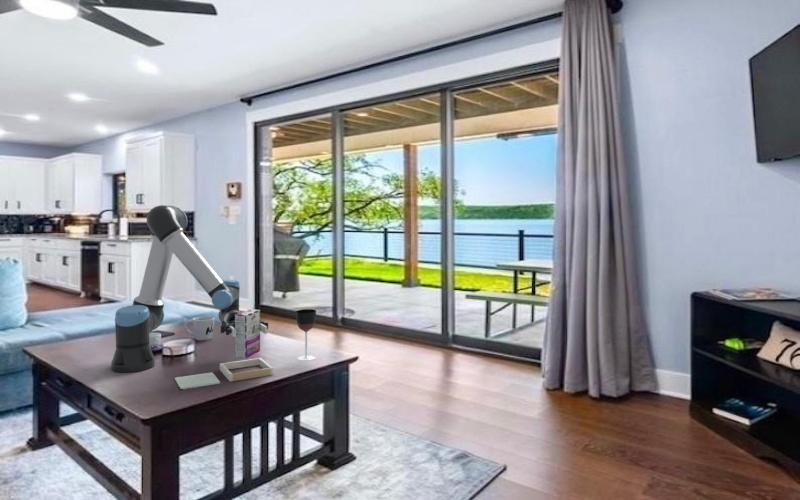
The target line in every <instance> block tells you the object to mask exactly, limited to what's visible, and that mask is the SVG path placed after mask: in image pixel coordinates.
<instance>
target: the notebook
mask: <svg viewBox="0 0 800 500" xmlns="http://www.w3.org/2000/svg"><path fill="white" fill-rule="evenodd" d="M149 333H160V334H161V339H163V338H168V337H171V336H175V335H176V334H175V332H174V331H173V332H172V331H166V330H165V331H164V330H161V329H160V330H159V329H158V330H157V329H155V330H153V331H151V332H149Z"/></svg>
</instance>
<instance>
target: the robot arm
mask: <svg viewBox="0 0 800 500" xmlns="http://www.w3.org/2000/svg"><path fill="white" fill-rule="evenodd" d="M146 225H147V227H148V229H149V230H150V234H149V235H150V238H152V242H151V246H150V250H149V255H148V258H147V263H146V267H145V270H144V274H143V277H142V283H141V287H140V291H139V294H138V296H135V297H134V298H133V301H132V302H133V303H132V304H131V305H126V306H123V307H120V308H118V309H117V310H116V311H115V316H114V325H115V328H114V329H115V331H114V332H115V352H114V354H113V357H112V361H111V364H110V367H111V368H110V369H111V371H113V372H115V373H116V372H117V373H134V372H140V371H144V370H148V369H150V368H152V367H154V366H155V364H156V361H155V360H156V358H155V356H154V354H153V351H152V348H150V343H149V332H151V331H156V330H157V329H158V328H159V327H160V326H161V324H162V323H163V322H164V321H163V320H165V319H164V317H165V312H164V305H165V302H164V300H163V294H164V291H165V287H166V282H167V278H168V276H169V275H168V273H169V270H170V266H171V262H172V258H173V255H175V257H176V258H177V259H178V260H179V262H180V263H181V264H182V265H183V267H185V268H186V270H187V271H188V272H189V274H191V276H192V277H193V279H195V280H196V282H197V283H198V284H199V286H200V287H201V288H202V289H203V290H204V291H205V293H207V295H208V296H209V297H210V298H211V303H212V305H213V307H215V308H216V309H220V310H219V311H218V315H217V316H218V319H219V321H220V322H221V326H220V334H224V333H225V335H226V336H229V335H230V336H232V337H234V338H235V337H236V329H235V314H238V313H241V311H240V289H241V288H240V281H239V280H237V279H221V277H220V276H219V274H217V272H216V271H215V269H213V267H212V266H211V265H210V264H209V263H208V261H207V260H206V259H205V257H204V256H203V255H202V254H201V253H200V252H199V251H198V249H197V248H196V247H195V245H193V243H192V241H190V239H189V238H188V237H187V236H186V235H185V234H184V231H185V230H186V228H187V226H188V217H187V214H186V213H185V211H183V209H181V208H179V207H176V206H174V205H163V204H161V205H157V206H154V207H152V208H151V209H150V210H149V211H148V212H147V215H146ZM268 330H269V322H266V321H262V320H260V333H262V334H264V335H267V333H268V332H267V331H268Z"/></svg>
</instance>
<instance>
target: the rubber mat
mask: <svg viewBox="0 0 800 500" xmlns="http://www.w3.org/2000/svg"><path fill="white" fill-rule="evenodd" d="M174 380H175V382H176V384H177V386H178V387H180V388H179V389H183V390H189V389H195V388H201V387H207V386H213V385H219V384H221V380H219V379H218V377H217V376H216V374H214V373H213V372H212V371H211V372H205V373H197V374H191V375H184V376H177V377H174ZM188 388H189V389H188Z"/></svg>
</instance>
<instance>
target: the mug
mask: <svg viewBox="0 0 800 500" xmlns="http://www.w3.org/2000/svg"><path fill="white" fill-rule="evenodd" d="M215 321H216V317H214V316H210V315H209V316H206V315H205V316H196V317H193V318H192V319H190V320H186V321H185V322H184V324H183V329H184V330H185V332H186V333H188V334H190V335H192V336H194V339H195V340H196V341H209V340H211V339H213V336H214V335H213V334H214V330H215V329H214V328H215V323H216V322H215ZM189 323H191V324H192V327H193V332H192V331H190V329H188V327H187V325H188V324H189Z"/></svg>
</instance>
